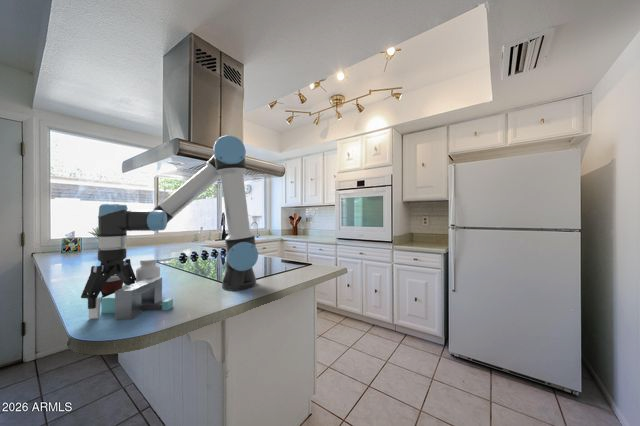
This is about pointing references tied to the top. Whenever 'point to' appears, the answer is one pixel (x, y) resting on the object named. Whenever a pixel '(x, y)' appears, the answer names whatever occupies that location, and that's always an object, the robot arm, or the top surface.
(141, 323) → the top surface
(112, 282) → the mate gourd
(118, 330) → the top surface
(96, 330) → the top surface
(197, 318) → the top surface
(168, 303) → the teal and grey bar
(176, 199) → the robot arm
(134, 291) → the grey bridge block
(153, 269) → the pill bottle
